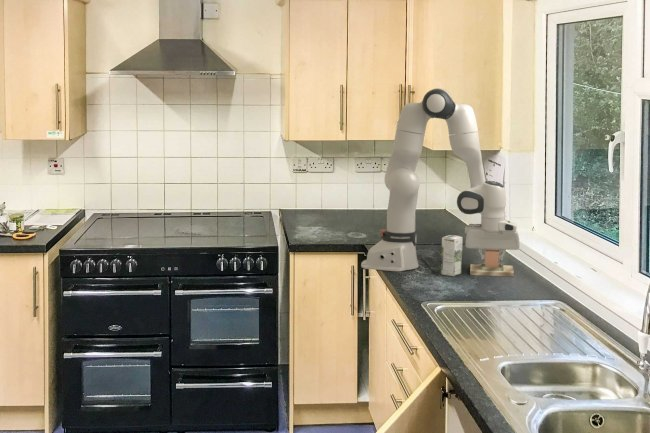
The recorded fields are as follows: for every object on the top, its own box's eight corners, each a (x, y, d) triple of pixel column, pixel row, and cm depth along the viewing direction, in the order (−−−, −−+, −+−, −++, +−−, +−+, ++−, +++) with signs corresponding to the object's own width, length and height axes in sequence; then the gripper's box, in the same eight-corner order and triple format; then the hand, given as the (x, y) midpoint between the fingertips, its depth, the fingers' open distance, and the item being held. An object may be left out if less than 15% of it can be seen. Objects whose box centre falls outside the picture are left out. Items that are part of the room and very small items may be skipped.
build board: (470, 274, 330) (470, 268, 329) (470, 267, 342) (470, 261, 341) (513, 276, 327) (513, 270, 327) (512, 269, 339) (512, 263, 338)
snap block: (484, 267, 332) (485, 251, 331) (484, 264, 337) (485, 249, 336) (498, 267, 331) (498, 252, 330) (498, 265, 336) (498, 249, 335)
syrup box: (448, 271, 335) (449, 234, 333) (461, 274, 331) (462, 236, 329) (440, 274, 331) (441, 236, 328) (454, 276, 327) (454, 238, 325)
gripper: (464, 225, 330) (463, 261, 332) (520, 226, 327) (519, 263, 329) (465, 222, 336) (464, 257, 338) (519, 223, 333) (518, 259, 335)
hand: (491, 260), depth 334 cm, fingers open, 5 cm apart
